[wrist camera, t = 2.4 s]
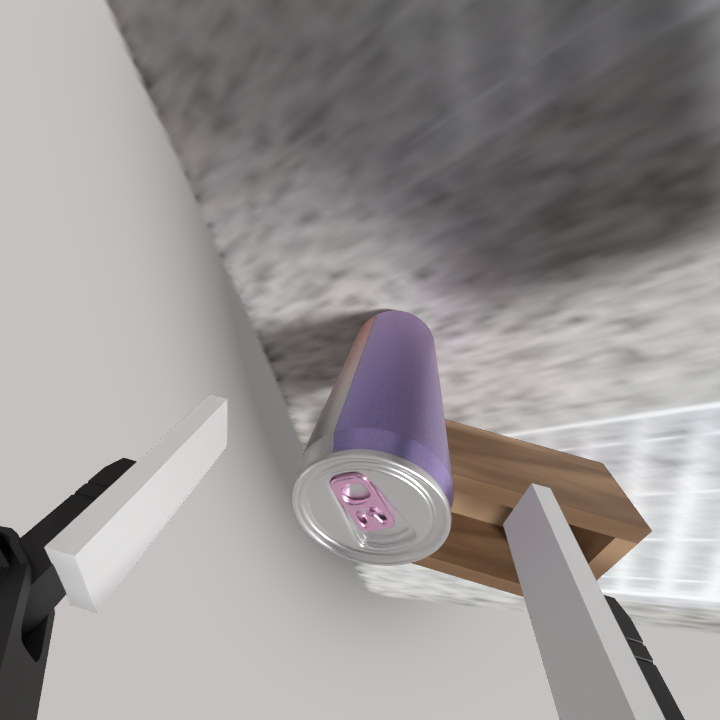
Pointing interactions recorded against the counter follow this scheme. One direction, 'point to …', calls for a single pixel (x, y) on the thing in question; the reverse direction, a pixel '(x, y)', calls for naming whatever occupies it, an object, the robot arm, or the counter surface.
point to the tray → (505, 489)
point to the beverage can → (380, 451)
